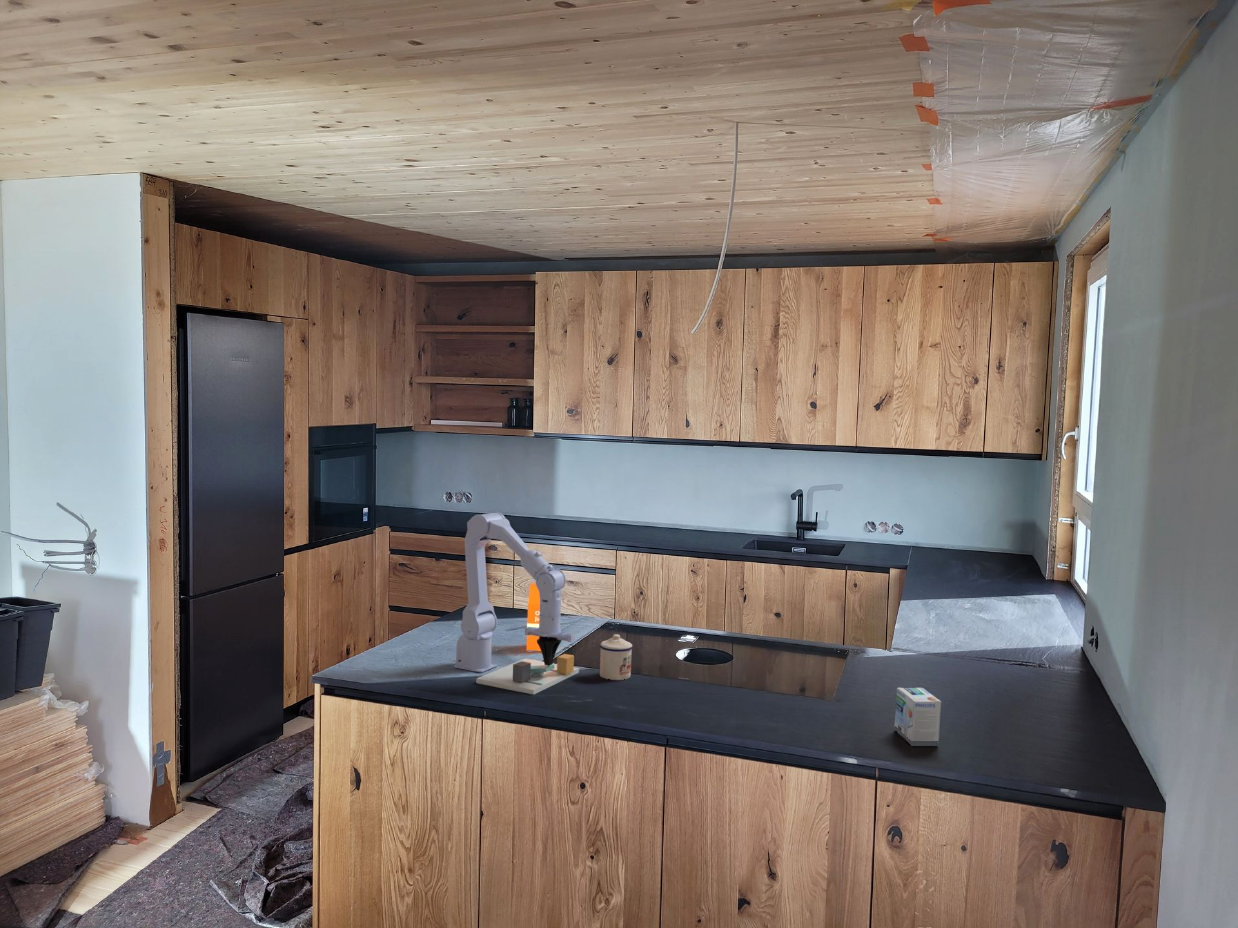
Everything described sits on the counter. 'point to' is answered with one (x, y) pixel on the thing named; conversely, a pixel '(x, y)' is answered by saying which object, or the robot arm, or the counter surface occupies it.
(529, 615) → the orange juice
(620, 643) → the teacup with lid
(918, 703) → the light bulb box
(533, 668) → the teal flat block
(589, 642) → the counter surface
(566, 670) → the block
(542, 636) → the robot arm
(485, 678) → the panel
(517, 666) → the charcoal fader
